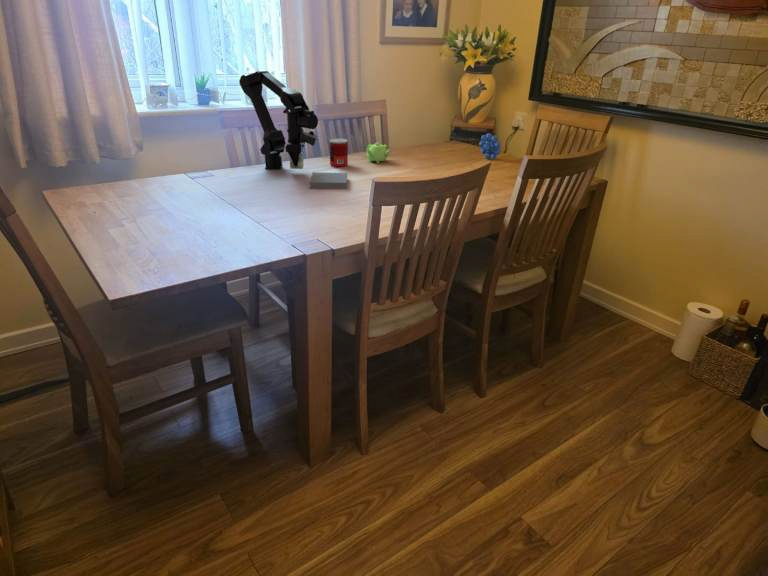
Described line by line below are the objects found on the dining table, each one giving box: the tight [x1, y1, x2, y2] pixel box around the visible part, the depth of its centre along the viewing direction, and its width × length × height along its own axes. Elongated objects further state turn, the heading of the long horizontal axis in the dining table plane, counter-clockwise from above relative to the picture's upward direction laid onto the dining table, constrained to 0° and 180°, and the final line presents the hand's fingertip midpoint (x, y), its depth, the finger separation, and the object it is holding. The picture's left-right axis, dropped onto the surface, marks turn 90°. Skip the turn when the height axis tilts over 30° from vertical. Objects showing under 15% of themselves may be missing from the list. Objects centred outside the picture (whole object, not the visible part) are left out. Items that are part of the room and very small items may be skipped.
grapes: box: [478, 132, 502, 160], centre depth 243 cm, size 12×7×12 cm, turn 50°
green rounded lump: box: [365, 142, 392, 164], centre depth 234 cm, size 11×12×8 cm
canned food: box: [329, 138, 349, 168], centre depth 225 cm, size 8×8×11 cm
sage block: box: [289, 153, 304, 170], centre depth 210 cm, size 5×5×5 cm
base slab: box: [309, 172, 348, 190], centre depth 201 cm, size 14×14×2 cm
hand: (296, 164), depth 211 cm, fingers closed on sage block, 5 cm apart
